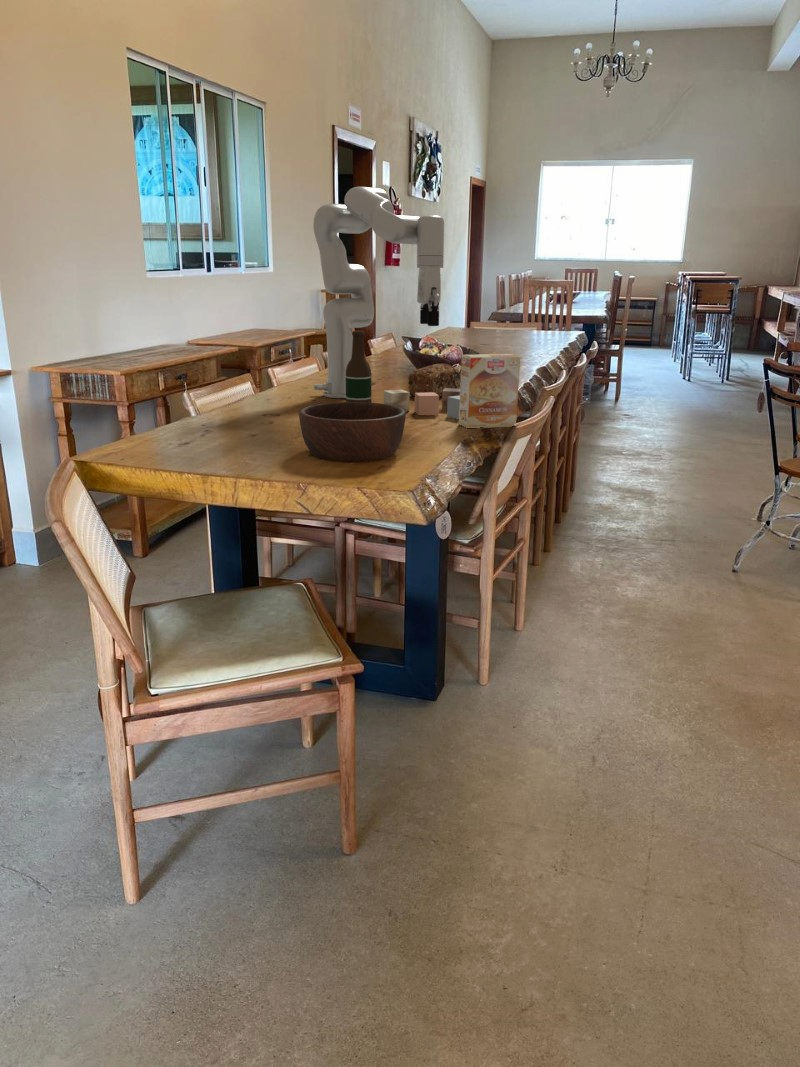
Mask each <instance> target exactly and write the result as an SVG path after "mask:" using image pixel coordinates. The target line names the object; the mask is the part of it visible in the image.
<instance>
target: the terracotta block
mask: <svg viewBox="0 0 800 1067" xmlns="http://www.w3.org/2000/svg"><path fill="white" fill-rule="evenodd" d="M439 402H440V397H439V395H437V394H436V393H434V392H428V393H415V397H414V413H415V412H416V413H417V414H418V415H435V416H439V409H440V408H439V405H440V404H439ZM416 413H415V414H416ZM417 414H416V415H417ZM418 415H417V416H418Z"/></svg>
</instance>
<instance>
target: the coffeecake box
mask: <svg viewBox="0 0 800 1067" xmlns="http://www.w3.org/2000/svg"><path fill="white" fill-rule="evenodd" d="M520 368H521V356H520V355H517V354H512V353H489V354H488V353H487V354H486V353H484V354H483V353H481V354H461V364H460V383H459V384H460V385H459V389H460V405H459V420H458V425H459V424H460V425H459V426H461V425H462V427H463V426H464V427H463V428H465V427H466V428H465V429H467V428H477V429H481V428H480V427H484V428H483V429H488V428H489V429H490V428H494V429H495V428H512V426H513V425H514V424H516V425H517V414H518V400H519V399H518V398H519V383H520V370H521V369H520Z"/></svg>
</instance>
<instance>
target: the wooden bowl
mask: <svg viewBox="0 0 800 1067" xmlns="http://www.w3.org/2000/svg"><path fill="white" fill-rule="evenodd" d="M406 416H407V412H405V411H404V410H403V409H402V408H399V407H396V406H392V405H387V404H384V403H378V402H371V403H369V402H346V401H340V402H338V401H337V402H326V403H325V402H324V403H319V404H318V403H316V404H311V405H308V406H304V407H303V408H300V410H299V412H298V417H299V424H300V430H301V434H302V439H303V442H304V444H305V446H306V448H307V450H308V451H309V452H310V454H312V456H314V457H316V458H318V459H321V460H326V461H330V462H331V461H332V462H340V463H341V462H344V463H360V462H363V463H365V462H374V461H379V460H380V461H381V460H385V459H388V458H389V457H392V456H393V455H394V454H395V453H396V451H397V450H398V448H399V446H400V444H401V442H402V439H403V435H404V430H405V424H406V419H407V418H406Z"/></svg>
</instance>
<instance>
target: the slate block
mask: <svg viewBox="0 0 800 1067" xmlns="http://www.w3.org/2000/svg"><path fill="white" fill-rule="evenodd" d="M459 405H460V396H451V397H448V401H447V411H446V417H447V416H448V417H447V418H450V417H452V418H451V419H454V418H456V419H455V420H458V419H459Z"/></svg>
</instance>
